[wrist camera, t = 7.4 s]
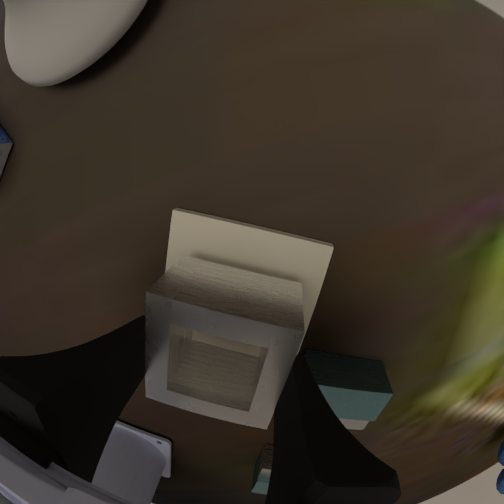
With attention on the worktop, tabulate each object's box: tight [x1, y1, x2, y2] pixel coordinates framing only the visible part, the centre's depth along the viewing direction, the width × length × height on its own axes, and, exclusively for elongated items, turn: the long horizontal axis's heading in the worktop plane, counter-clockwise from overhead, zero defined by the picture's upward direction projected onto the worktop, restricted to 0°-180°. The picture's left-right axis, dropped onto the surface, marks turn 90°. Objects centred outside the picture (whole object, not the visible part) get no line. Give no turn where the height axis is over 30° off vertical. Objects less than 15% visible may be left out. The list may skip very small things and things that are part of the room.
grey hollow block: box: [145, 255, 305, 429], centre depth 13 cm, size 6×6×4 cm
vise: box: [251, 349, 393, 494], centre depth 18 cm, size 5×14×3 cm, turn 168°
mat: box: [165, 208, 334, 356], centre depth 16 cm, size 8×9×1 cm
